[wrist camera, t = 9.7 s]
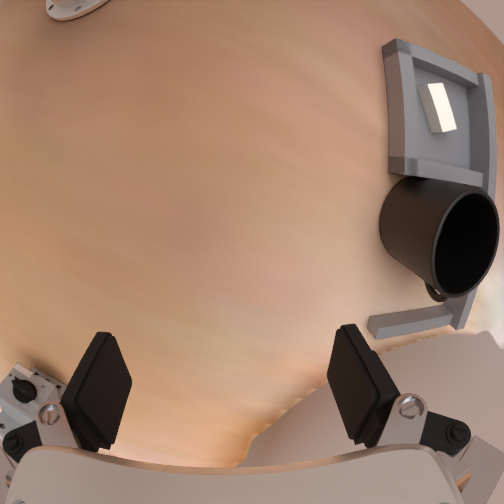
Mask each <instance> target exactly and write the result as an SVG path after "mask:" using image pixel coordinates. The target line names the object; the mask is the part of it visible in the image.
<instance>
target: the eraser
mask: <svg viewBox="0 0 504 504" xmlns="http://www.w3.org/2000/svg"><path fill="white" fill-rule="evenodd" d="M417 90H418V93H419V96H420V99H421V101H422V104H423V107H424V111H425V114H426V117H427V120H428V124H429V127H430V131H431V133H434V132H446V131H450V130H454V129H457V128H456V124H455V120H454V117H453V113H452V110H451V107H450V103H449V100H448V97H447V94H446V91H445V88H444V86H443V83H434V84H426V85H423V86H419V87H417Z"/></svg>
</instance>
